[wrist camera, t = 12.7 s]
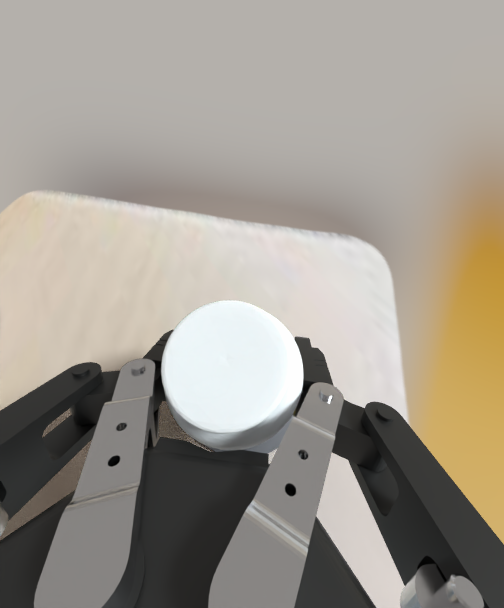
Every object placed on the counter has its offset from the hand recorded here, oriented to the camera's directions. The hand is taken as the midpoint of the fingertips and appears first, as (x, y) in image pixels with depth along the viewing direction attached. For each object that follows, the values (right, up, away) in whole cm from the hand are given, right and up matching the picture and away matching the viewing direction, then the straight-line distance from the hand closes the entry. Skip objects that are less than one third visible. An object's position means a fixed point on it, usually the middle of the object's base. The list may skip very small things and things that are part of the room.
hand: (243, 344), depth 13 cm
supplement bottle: (0, -3, +3) cm, 5 cm away
